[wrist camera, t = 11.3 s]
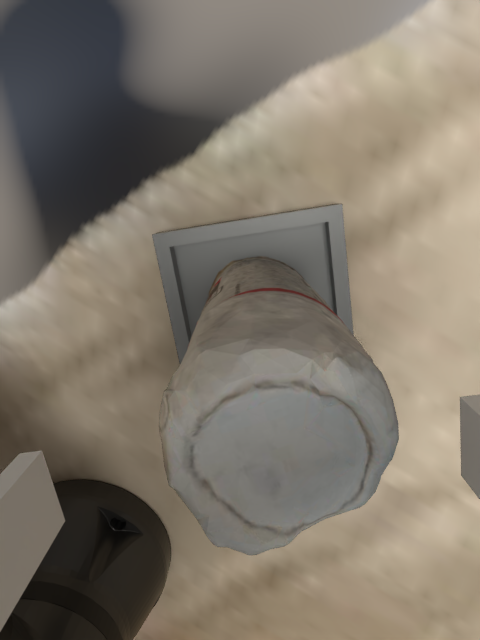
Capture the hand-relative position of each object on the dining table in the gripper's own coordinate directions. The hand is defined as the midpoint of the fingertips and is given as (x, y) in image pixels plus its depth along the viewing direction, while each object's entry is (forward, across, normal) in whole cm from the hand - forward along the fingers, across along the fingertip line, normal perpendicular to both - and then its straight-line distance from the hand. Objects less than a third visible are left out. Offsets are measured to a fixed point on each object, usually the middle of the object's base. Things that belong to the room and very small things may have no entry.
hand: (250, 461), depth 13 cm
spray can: (+19, +1, 0) cm, 19 cm away
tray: (+19, +1, 0) cm, 19 cm away
